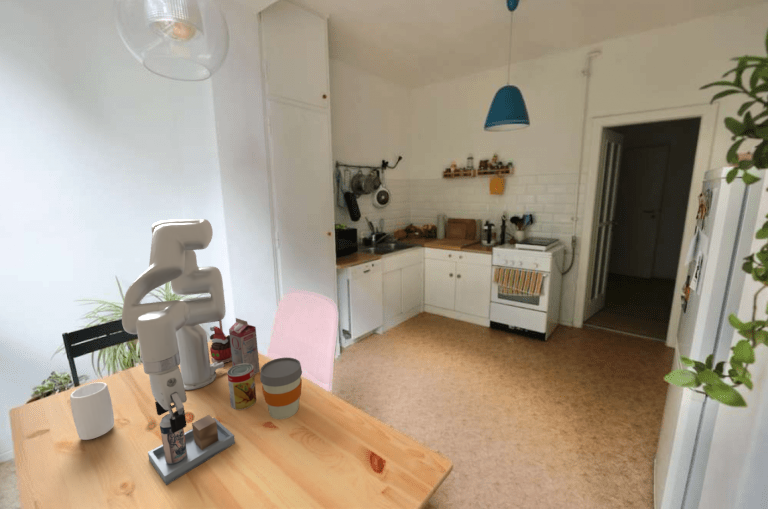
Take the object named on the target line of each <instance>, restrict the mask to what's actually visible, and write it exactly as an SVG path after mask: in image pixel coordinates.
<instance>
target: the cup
mask: <svg viewBox="0 0 768 509" xmlns="http://www.w3.org/2000/svg"><path fill="white" fill-rule="evenodd" d="M69 399H70V400H69V401H70V409H71V414H72V418H73V423H74V426H75V429H76V433H77V436H78V438H79V439H80V440H84V441H85V440H86V441H87V440H92V439H95V438H98V437H101V436H103V435H105V434H107V433H108V432H109V431H111V430H112V428H113V427H114V425H115V418H114V409H113V403H112V402H113V401H112V396H111V394H110V390H109V387H108V385H107V383H106V382H102V381H97V382H91V383H88V384H84V385H83V386H80V387H77V388H76V389H75V390H73V391H72V392H71V394H70V395H69Z"/></svg>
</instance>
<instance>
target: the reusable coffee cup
mask: <svg viewBox="0 0 768 509" xmlns="http://www.w3.org/2000/svg"><path fill="white" fill-rule="evenodd" d="M259 373H260V376H259V378H260V379H259V380H260V382H261V385H262V386H261V391H262V394H263V398H264V399H263V400H264V402H265V403H266V405H267V408H268V412H269V416H270V417H271V418H272V419H275V420H284V419H288V418H291V417H293V416H294V415H295V414H296V413H297V412H298V411H299V406H300V404H299V403H300V397H301V395H302V383H303V381H302V375H303V374H302V373H303V370H302V363H301V361H300V360H298V359H297V358H293V357H278V358H275V359H272V360H269V361H267V362H266V363H264V364H263V365H262V366H261V368H260V372H259Z"/></svg>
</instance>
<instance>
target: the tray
mask: <svg viewBox="0 0 768 509" xmlns="http://www.w3.org/2000/svg"><path fill="white" fill-rule="evenodd" d="M212 418H213V419H214V420H215V421H216V423H217V431H218V441H217V442H215V443H213V444H212V445H210V446H208V447H206V448H205V449H203V450H201V449H200V448H199V447H198V446H197V445H196V443H195V442H194V435H193V428H192V429H189V430H187V431H186V432H185V431H184V435H185V442H186V449H187V455H186V456H185V458H183V459H182V460H181V461H179V462H177V463H173V464H169V463H166V461H165V455H164V448H163V443H162V444H161V445H159V446H157V447H155V448H153V449H151V450H149V451H147V457H148V461H149V462H150V464H151V465H152V466H153V468H154V470H155V471H156V472H157V474H158V476H160V479H162V482H163V483H164V484H165V485H166V486H168V485H170V484H171V483H172V482H174V481H176V480H177V479H179V478H181V477H182V476H184V475H185V474H187V473H189V472H191V471H192V470H193V469H195V468H197V467H199V466H200V465H202V464H203V463H205V462H206V461H208V460H210V459H211V458H213V457H215V456H217V455H219V454H220V453H222V452H224V451H225V450H227V449H228V448H230V447H231V446H233V445H235V444H236V441H235V440H236V439H235V435H234V433H233V432H231V431H230V430H229V429H228V428H227V427H226V426H224V425H223V424H222V423H221V422H220V421H219V420H217V418H215V417H212Z"/></svg>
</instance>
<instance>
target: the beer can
mask: <svg viewBox="0 0 768 509" xmlns="http://www.w3.org/2000/svg"><path fill="white" fill-rule="evenodd" d="M170 418H171V416H170V414H169V413H167V414H165V415H164V416H163V417H162V418H161V420H160V422H159V428H160V436H161V440H162V441H161V442H162V444H163V448H164V455H165V461H166V463H169V464H173V463H177V462H179V461H181V460H182V459H183V458H185V456H186V455H187V449H186V442H185V435H184V433H185V428H183V429H181V430H179V431H177V432H175V433H172V430H171V424H170Z"/></svg>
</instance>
